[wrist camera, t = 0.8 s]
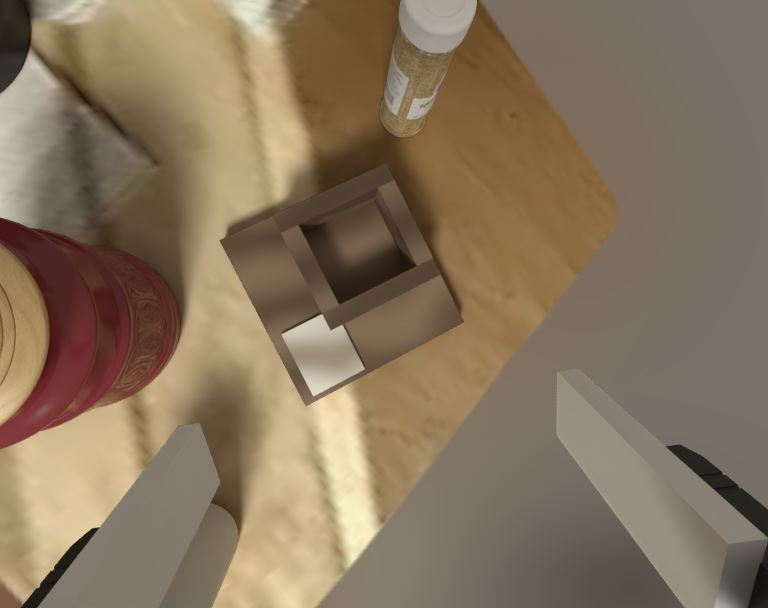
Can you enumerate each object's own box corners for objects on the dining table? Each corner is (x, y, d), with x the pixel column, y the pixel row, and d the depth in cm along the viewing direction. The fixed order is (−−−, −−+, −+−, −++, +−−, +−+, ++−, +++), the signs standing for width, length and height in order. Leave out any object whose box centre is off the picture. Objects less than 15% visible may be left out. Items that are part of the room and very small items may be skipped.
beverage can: (224, 485, 32) (158, 587, 20) (252, 551, 32) (201, 692, 20) (152, 516, 31) (38, 642, 19) (180, 584, 32) (85, 751, 20)
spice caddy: (224, 243, 33) (204, 231, 28) (383, 170, 34) (391, 146, 30) (307, 402, 33) (301, 418, 28) (458, 321, 35) (478, 323, 30)
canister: (122, 219, 32) (-146, 105, 14) (216, 339, 32) (71, 372, 15) (-16, 309, 30) (-506, 308, 13) (85, 432, 31) (-245, 592, 13)
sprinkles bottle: (422, 143, 35) (474, 39, 22) (375, 134, 34) (399, 22, 21) (428, 96, 35) (483, -35, 22) (381, 87, 35) (408, -54, 21)
